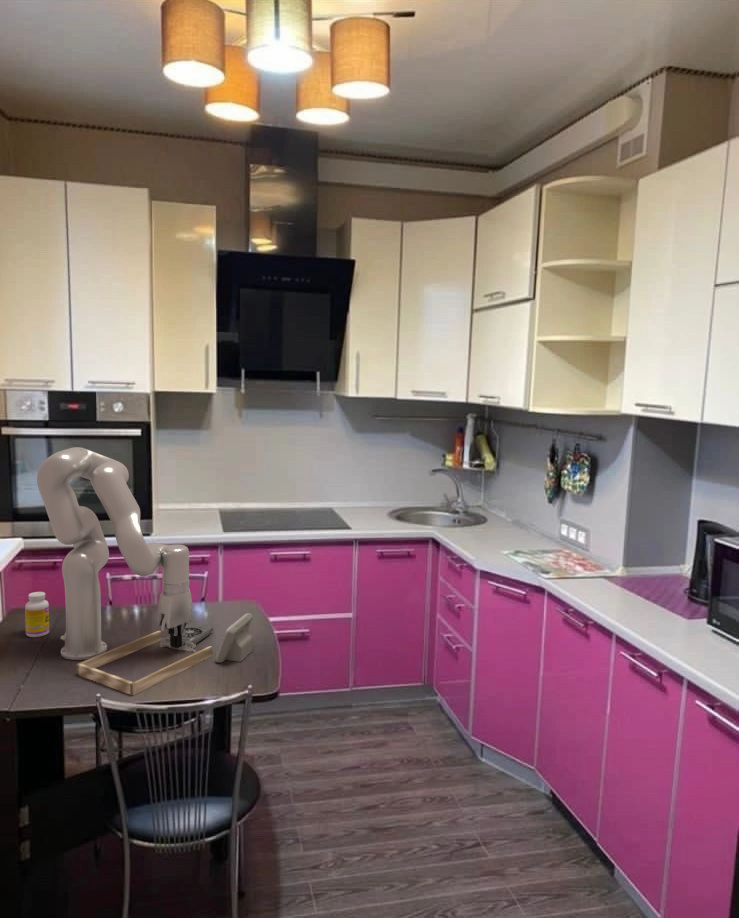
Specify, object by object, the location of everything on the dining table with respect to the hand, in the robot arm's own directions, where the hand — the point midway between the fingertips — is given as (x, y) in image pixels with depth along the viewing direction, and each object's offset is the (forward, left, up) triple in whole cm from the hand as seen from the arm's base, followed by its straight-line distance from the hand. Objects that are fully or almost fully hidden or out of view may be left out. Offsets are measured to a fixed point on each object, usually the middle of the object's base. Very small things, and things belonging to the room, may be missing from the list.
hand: (176, 646), depth 201 cm
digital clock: (+15, +9, -2) cm, 18 cm away
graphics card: (-3, +9, -3) cm, 10 cm away
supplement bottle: (-45, -14, -2) cm, 47 cm away
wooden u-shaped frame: (0, -11, -2) cm, 11 cm away
